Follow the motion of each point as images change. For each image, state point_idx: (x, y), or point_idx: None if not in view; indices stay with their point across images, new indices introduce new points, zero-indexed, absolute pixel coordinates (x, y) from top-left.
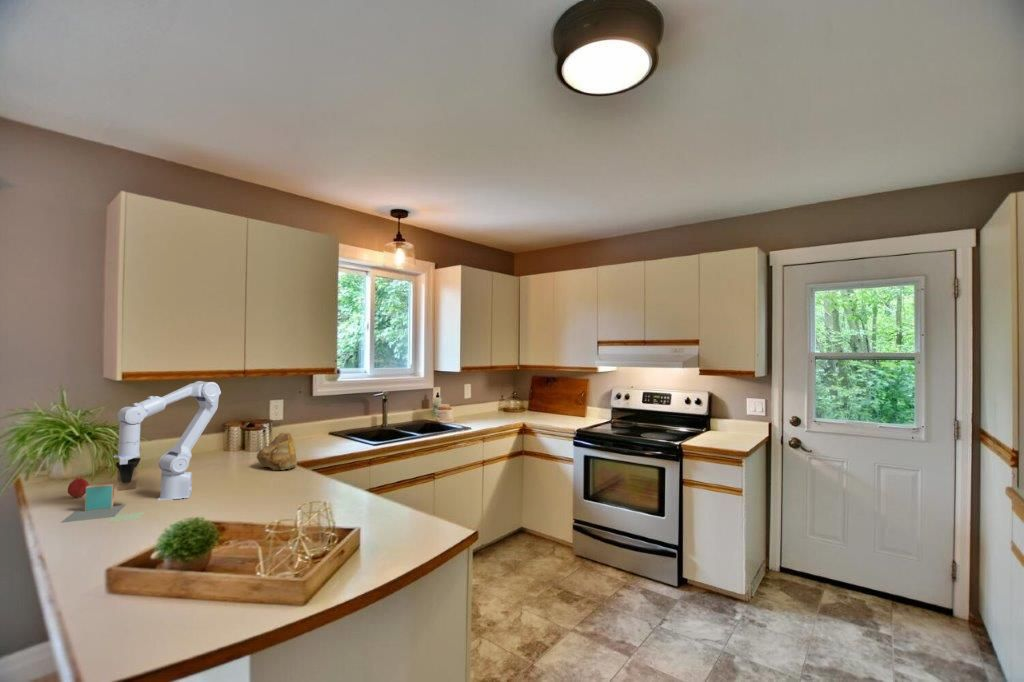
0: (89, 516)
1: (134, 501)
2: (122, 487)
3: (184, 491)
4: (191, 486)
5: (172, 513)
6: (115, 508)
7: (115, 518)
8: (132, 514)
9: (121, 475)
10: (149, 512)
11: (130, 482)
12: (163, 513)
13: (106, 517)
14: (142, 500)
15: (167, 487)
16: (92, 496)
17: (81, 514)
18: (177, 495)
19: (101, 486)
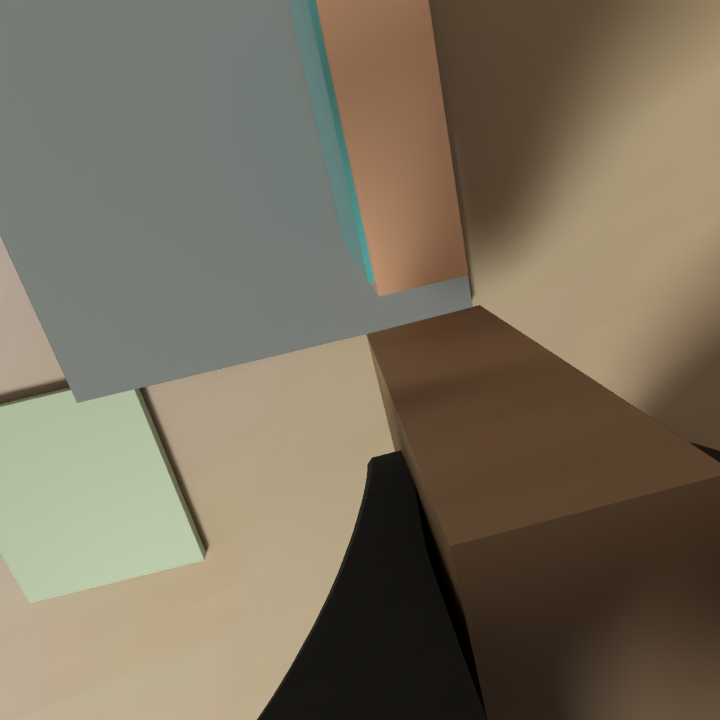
0: (93, 167)
1: (598, 312)
2: (386, 410)
3: None
4: None
5: (179, 716)
6: (349, 279)
7: (26, 440)
8: (138, 511)
9: (348, 559)
10: (222, 576)
11: None
12: (185, 668)
13: (58, 350)
14: (609, 366)
15: None
16: (300, 17)
17: (176, 27)
18: None
19: (339, 111)
